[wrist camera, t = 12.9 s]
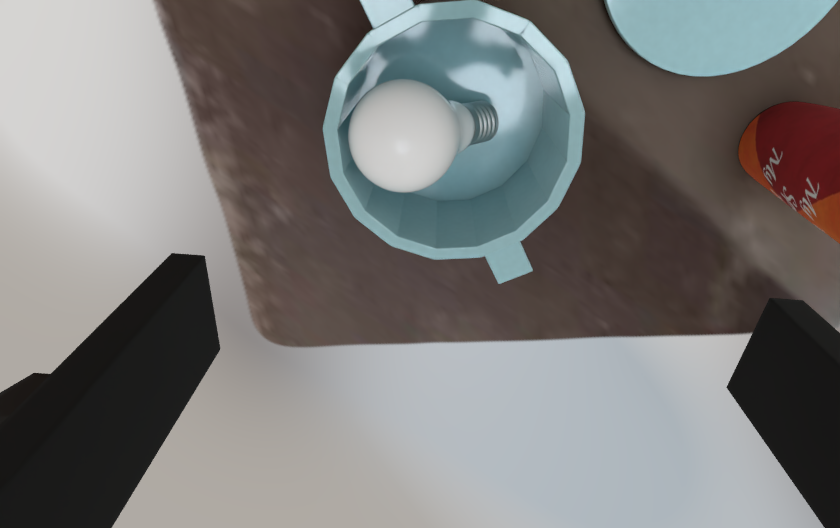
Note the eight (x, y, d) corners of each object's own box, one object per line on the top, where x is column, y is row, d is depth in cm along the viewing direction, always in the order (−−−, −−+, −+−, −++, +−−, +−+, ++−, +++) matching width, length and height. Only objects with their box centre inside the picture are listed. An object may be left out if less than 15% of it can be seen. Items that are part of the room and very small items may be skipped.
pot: (490, -95, 29) (506, -124, 22) (591, 190, 38) (628, 240, 30) (288, 24, 33) (244, 34, 25) (421, 262, 41) (417, 322, 34)
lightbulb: (488, 47, 32) (350, 55, 25) (546, 123, 31) (417, 153, 24) (441, 117, 37) (314, 140, 30) (489, 185, 36) (368, 225, 29)
